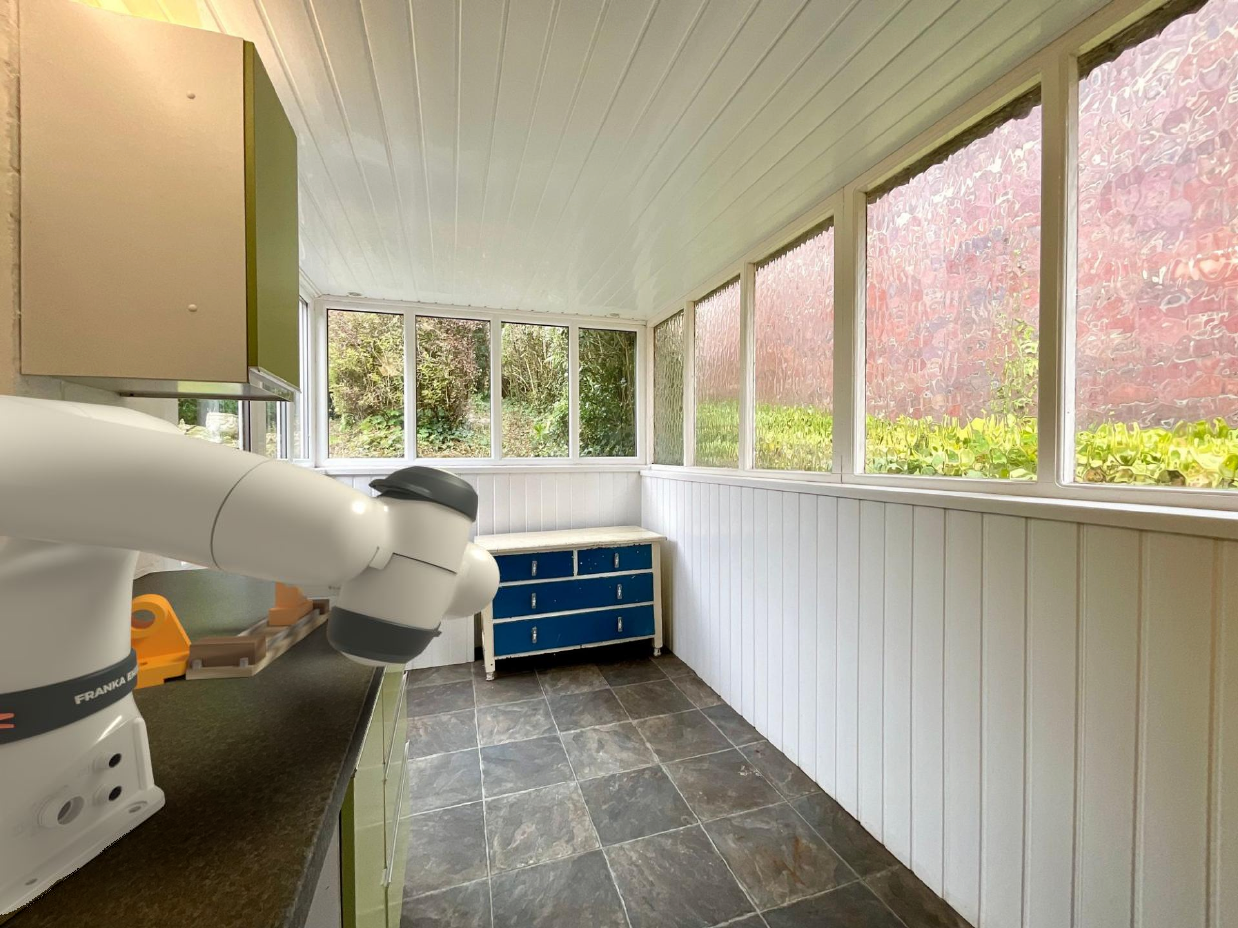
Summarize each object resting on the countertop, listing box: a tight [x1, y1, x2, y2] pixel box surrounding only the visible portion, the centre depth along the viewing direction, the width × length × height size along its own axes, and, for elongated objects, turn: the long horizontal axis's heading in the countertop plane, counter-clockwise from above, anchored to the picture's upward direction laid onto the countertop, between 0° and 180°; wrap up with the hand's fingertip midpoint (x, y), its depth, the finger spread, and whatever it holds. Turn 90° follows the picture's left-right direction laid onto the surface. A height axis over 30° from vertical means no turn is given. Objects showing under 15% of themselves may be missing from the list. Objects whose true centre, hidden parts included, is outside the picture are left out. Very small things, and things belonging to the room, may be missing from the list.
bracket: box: [131, 593, 192, 691], centre depth 72 cm, size 11×7×12 cm, turn 126°
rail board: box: [185, 598, 331, 681], centre depth 86 cm, size 27×9×5 cm, turn 9°
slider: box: [268, 582, 313, 626], centre depth 94 cm, size 6×5×13 cm
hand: (299, 575), depth 94 cm, fingers open, 8 cm apart
